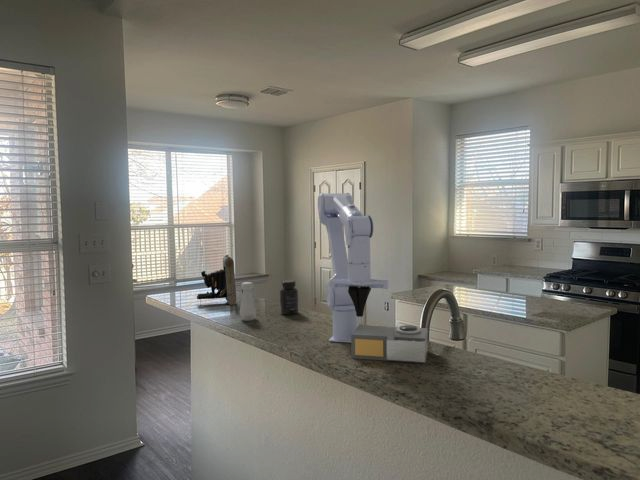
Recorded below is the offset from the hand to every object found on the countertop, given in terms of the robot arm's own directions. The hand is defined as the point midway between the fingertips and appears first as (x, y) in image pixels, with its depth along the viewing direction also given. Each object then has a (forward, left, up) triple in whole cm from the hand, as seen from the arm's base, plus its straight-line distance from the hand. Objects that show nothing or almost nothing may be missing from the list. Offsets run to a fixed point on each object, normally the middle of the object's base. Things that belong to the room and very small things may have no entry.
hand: (360, 315), depth 119 cm
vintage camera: (-54, -71, -10) cm, 90 cm away
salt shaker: (-31, -46, -10) cm, 56 cm away
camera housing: (-1, +8, -10) cm, 12 cm away
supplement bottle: (-43, -35, -10) cm, 56 cm away
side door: (+5, +12, -9) cm, 16 cm away
